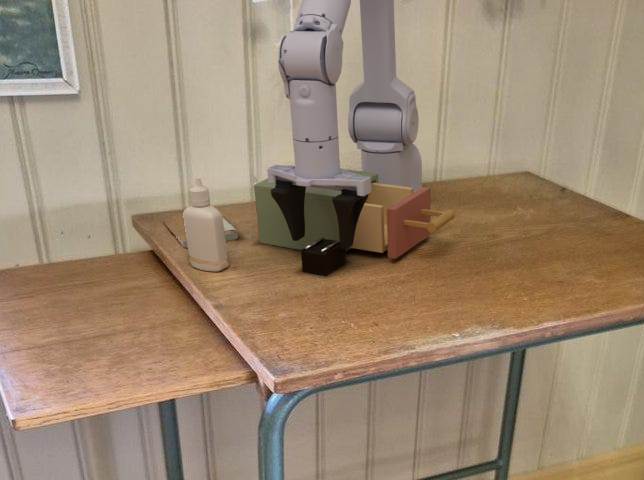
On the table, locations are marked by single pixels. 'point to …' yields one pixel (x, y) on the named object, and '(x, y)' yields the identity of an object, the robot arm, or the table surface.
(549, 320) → the table surface
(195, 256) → the eye dropper bottle
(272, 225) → the cabinet
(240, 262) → the table surface
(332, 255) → the clip
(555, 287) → the table surface
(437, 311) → the table surface
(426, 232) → the drawer
